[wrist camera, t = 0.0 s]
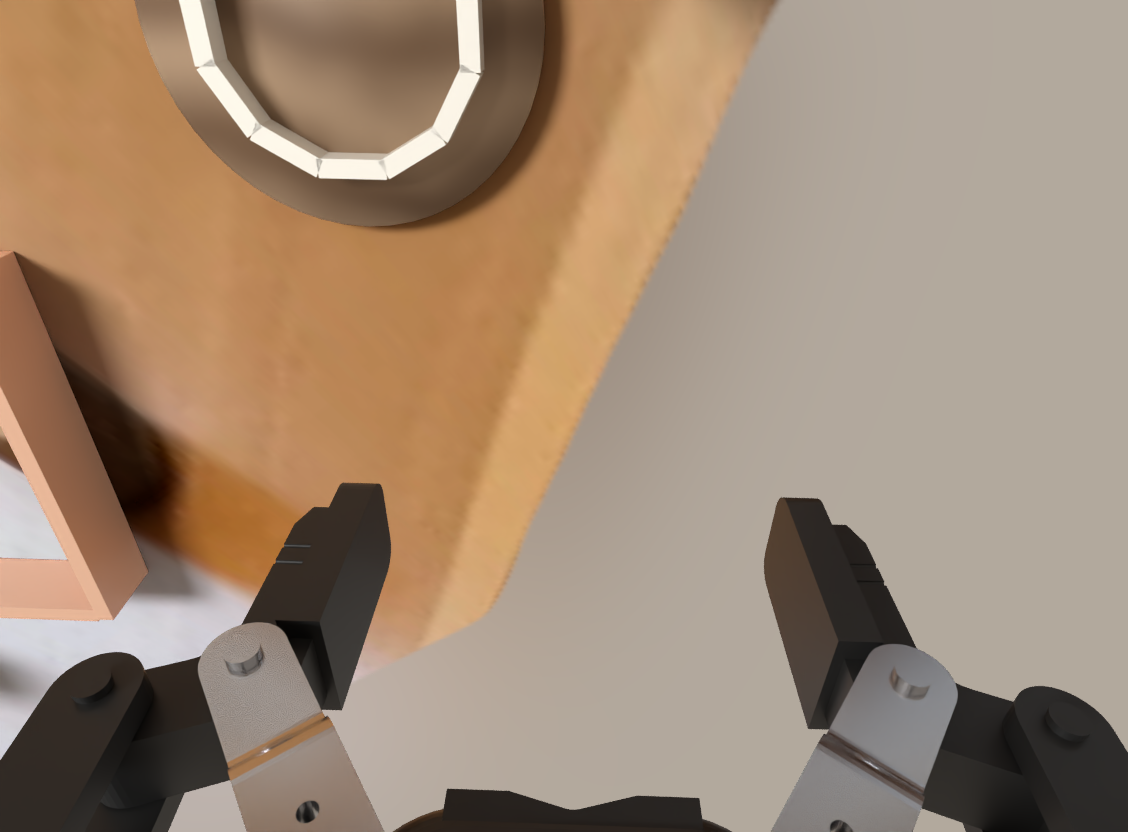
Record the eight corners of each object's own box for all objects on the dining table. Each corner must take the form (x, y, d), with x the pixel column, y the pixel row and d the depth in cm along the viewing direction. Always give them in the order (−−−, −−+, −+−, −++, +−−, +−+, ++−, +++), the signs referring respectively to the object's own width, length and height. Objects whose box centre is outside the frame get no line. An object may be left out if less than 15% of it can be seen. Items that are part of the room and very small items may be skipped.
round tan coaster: (81, -248, 30) (64, -255, 29) (545, -240, 30) (544, -247, 29) (203, 215, 41) (193, 221, 40) (544, 224, 41) (543, 231, 40)
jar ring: (157, -161, 31) (138, -167, 29) (475, -155, 30) (470, -161, 29) (233, 168, 38) (221, 175, 37) (488, 175, 38) (485, 182, 37)
